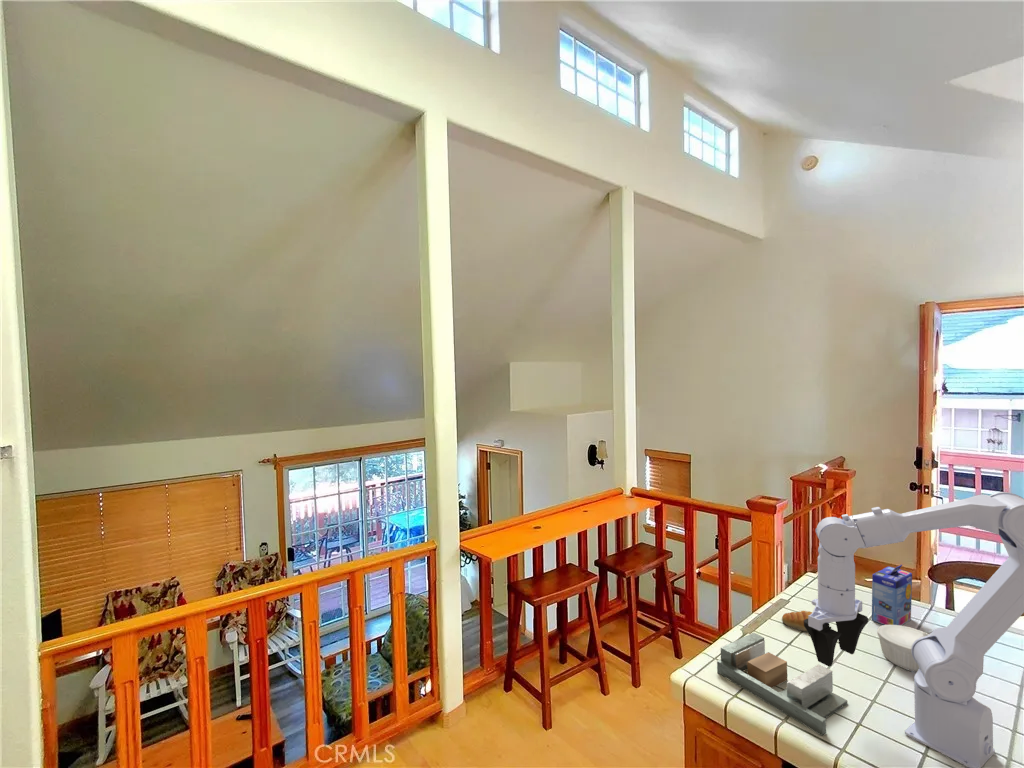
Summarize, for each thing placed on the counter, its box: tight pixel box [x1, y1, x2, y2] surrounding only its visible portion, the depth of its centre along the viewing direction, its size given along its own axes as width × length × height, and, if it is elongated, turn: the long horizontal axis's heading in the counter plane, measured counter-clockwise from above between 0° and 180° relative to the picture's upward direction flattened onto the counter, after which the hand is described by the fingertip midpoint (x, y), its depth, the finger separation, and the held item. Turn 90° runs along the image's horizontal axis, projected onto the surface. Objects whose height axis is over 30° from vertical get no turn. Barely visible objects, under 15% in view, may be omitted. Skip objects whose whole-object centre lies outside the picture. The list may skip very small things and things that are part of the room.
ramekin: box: [876, 625, 930, 673], centre depth 103 cm, size 11×11×5 cm
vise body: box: [716, 632, 848, 736], centre depth 95 cm, size 21×13×5 cm, turn 30°
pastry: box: [781, 610, 813, 633], centre depth 119 cm, size 9×7×4 cm
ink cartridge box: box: [871, 564, 913, 626], centre depth 121 cm, size 10×6×14 cm, turn 122°
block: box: [746, 652, 788, 689], centre depth 98 cm, size 4×7×4 cm, turn 118°
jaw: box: [786, 664, 834, 708], centre depth 91 cm, size 3×11×4 cm, turn 120°
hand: (836, 657), depth 88 cm, fingers open, 7 cm apart
